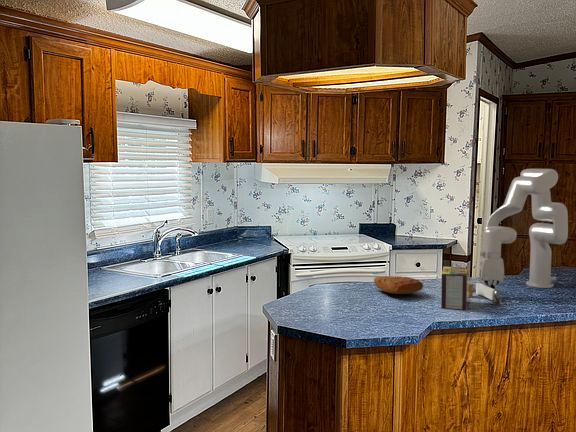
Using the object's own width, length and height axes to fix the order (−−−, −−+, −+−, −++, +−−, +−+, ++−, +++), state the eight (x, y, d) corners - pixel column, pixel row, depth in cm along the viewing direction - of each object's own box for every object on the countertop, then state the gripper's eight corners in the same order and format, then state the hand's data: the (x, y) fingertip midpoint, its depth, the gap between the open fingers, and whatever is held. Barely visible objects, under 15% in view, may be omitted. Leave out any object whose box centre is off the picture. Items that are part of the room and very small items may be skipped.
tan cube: (467, 289, 254) (467, 281, 254) (474, 291, 250) (474, 283, 250) (460, 290, 253) (460, 282, 252) (466, 292, 249) (467, 284, 248)
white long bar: (495, 301, 231) (496, 290, 230) (491, 301, 230) (492, 290, 230) (479, 293, 244) (479, 282, 244) (475, 294, 244) (476, 283, 244)
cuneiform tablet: (425, 297, 240) (426, 280, 239) (393, 301, 234) (393, 283, 234) (400, 286, 261) (400, 271, 260) (370, 289, 255) (370, 273, 254)
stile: (468, 295, 243) (468, 282, 242) (472, 296, 240) (473, 284, 239) (463, 295, 242) (464, 283, 241) (468, 297, 239) (468, 284, 238)
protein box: (466, 301, 233) (467, 267, 231) (466, 310, 218) (467, 274, 217) (442, 299, 236) (443, 266, 235) (440, 308, 222) (441, 273, 220)
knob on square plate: (496, 301, 231) (497, 288, 231) (505, 304, 227) (506, 291, 226) (488, 303, 229) (488, 289, 229) (497, 305, 225) (497, 292, 224)
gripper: (477, 256, 234) (476, 296, 236) (511, 256, 233) (510, 296, 235) (473, 253, 242) (472, 292, 244) (505, 253, 240) (504, 292, 243)
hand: (491, 294), depth 239 cm, fingers closed
